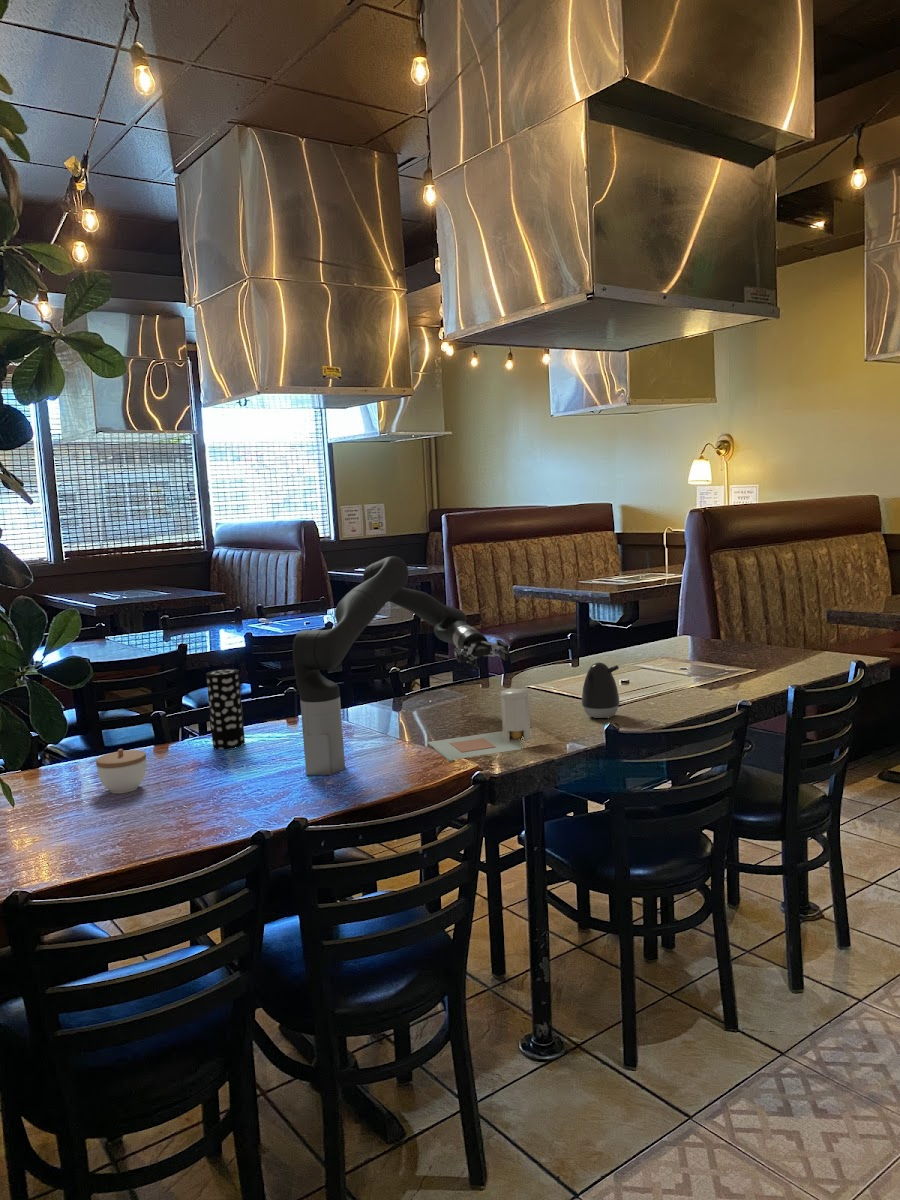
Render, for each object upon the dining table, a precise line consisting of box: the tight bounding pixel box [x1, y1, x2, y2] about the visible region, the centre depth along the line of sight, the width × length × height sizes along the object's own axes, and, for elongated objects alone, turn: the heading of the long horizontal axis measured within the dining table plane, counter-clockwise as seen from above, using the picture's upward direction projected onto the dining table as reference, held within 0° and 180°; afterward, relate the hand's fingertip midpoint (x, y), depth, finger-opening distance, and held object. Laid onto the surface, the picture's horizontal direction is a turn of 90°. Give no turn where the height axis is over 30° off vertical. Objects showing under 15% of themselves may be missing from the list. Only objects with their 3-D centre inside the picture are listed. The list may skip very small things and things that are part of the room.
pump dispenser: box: [581, 662, 620, 719], centre depth 238 cm, size 10×10×15 cm
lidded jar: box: [95, 748, 147, 795], centre depth 199 cm, size 11×11×9 cm
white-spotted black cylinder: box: [206, 668, 246, 750], centre depth 232 cm, size 8×8×20 cm
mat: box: [427, 730, 524, 763], centre depth 219 cm, size 30×18×1 cm, turn 108°
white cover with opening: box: [500, 688, 531, 742], centre depth 220 cm, size 7×7×12 cm
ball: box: [511, 731, 523, 739], centre depth 220 cm, size 3×3×3 cm
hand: (491, 659), depth 230 cm, fingers open, 8 cm apart
